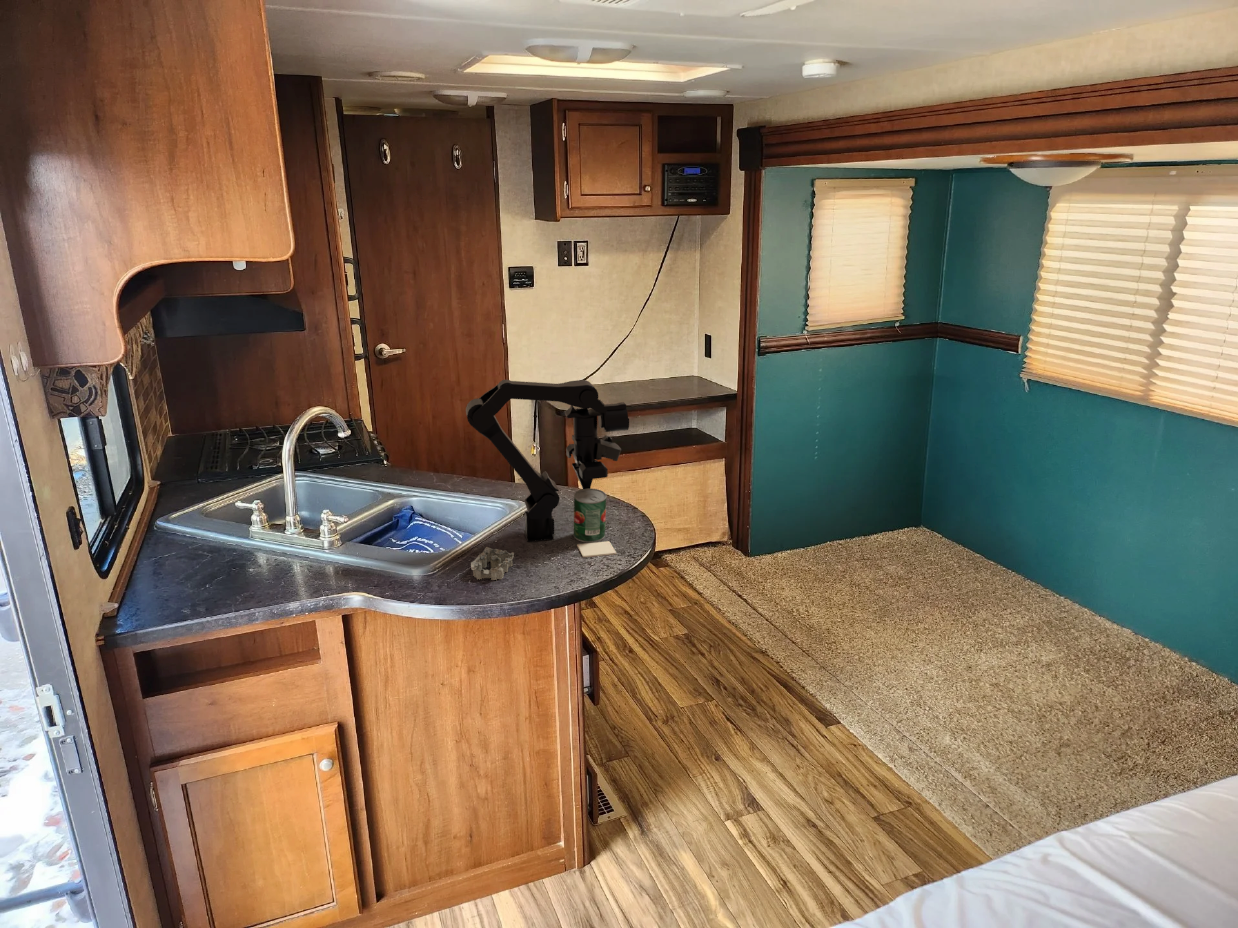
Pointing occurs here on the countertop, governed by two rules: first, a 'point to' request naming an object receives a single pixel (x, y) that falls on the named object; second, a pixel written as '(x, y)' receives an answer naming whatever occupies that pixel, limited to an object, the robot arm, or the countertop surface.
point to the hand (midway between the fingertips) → (586, 492)
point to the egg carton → (492, 564)
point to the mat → (596, 549)
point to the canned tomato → (589, 515)
